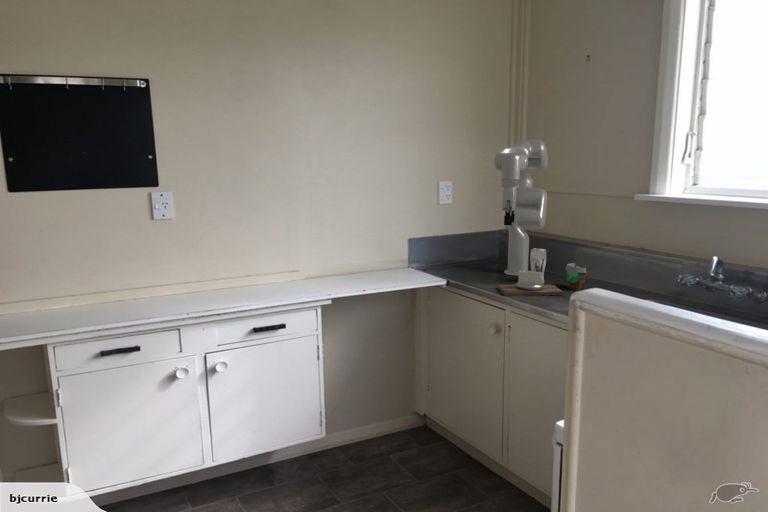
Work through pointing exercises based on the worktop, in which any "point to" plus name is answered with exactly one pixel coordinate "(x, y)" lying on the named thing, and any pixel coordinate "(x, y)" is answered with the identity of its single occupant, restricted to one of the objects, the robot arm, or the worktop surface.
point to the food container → (575, 276)
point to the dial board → (514, 291)
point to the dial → (530, 280)
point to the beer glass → (538, 261)
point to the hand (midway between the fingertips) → (509, 223)
